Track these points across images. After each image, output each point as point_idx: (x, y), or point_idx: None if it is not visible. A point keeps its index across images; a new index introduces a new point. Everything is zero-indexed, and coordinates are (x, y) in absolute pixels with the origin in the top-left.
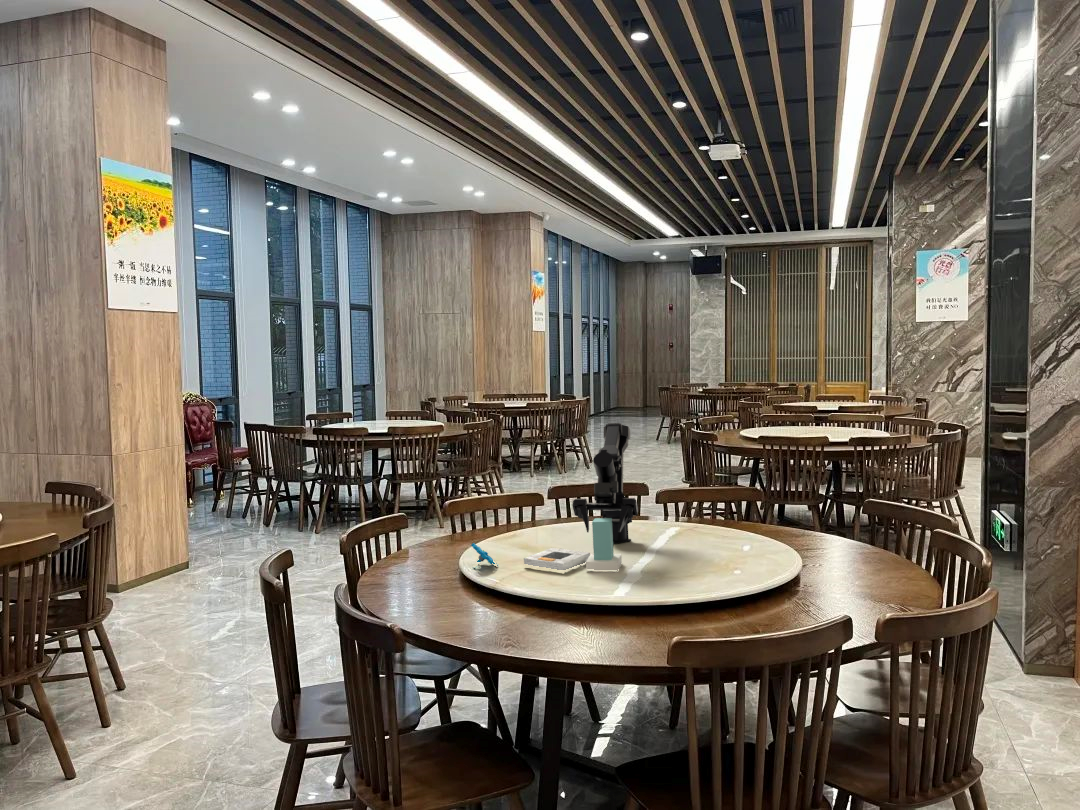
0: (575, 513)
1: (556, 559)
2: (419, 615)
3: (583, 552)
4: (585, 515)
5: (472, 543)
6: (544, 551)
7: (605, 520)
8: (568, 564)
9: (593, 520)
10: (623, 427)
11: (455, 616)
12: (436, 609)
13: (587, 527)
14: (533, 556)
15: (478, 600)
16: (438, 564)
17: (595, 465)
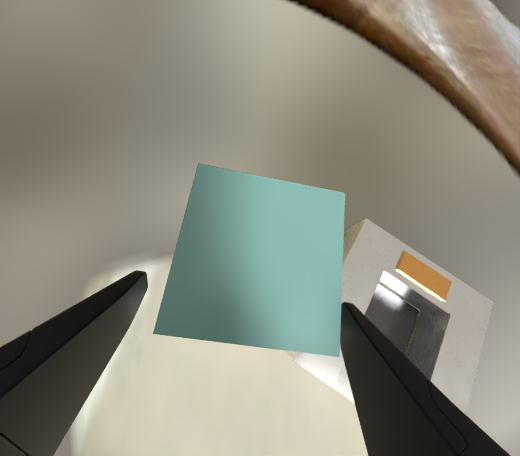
0: None
1: (394, 271)
2: (512, 48)
3: (319, 364)
4: (461, 437)
5: None
6: (460, 399)
7: (231, 225)
8: (349, 243)
9: (340, 249)
10: None
11: (464, 33)
12: (503, 65)
13: (357, 317)
14: (473, 322)
15: (462, 88)
16: None
17: None
